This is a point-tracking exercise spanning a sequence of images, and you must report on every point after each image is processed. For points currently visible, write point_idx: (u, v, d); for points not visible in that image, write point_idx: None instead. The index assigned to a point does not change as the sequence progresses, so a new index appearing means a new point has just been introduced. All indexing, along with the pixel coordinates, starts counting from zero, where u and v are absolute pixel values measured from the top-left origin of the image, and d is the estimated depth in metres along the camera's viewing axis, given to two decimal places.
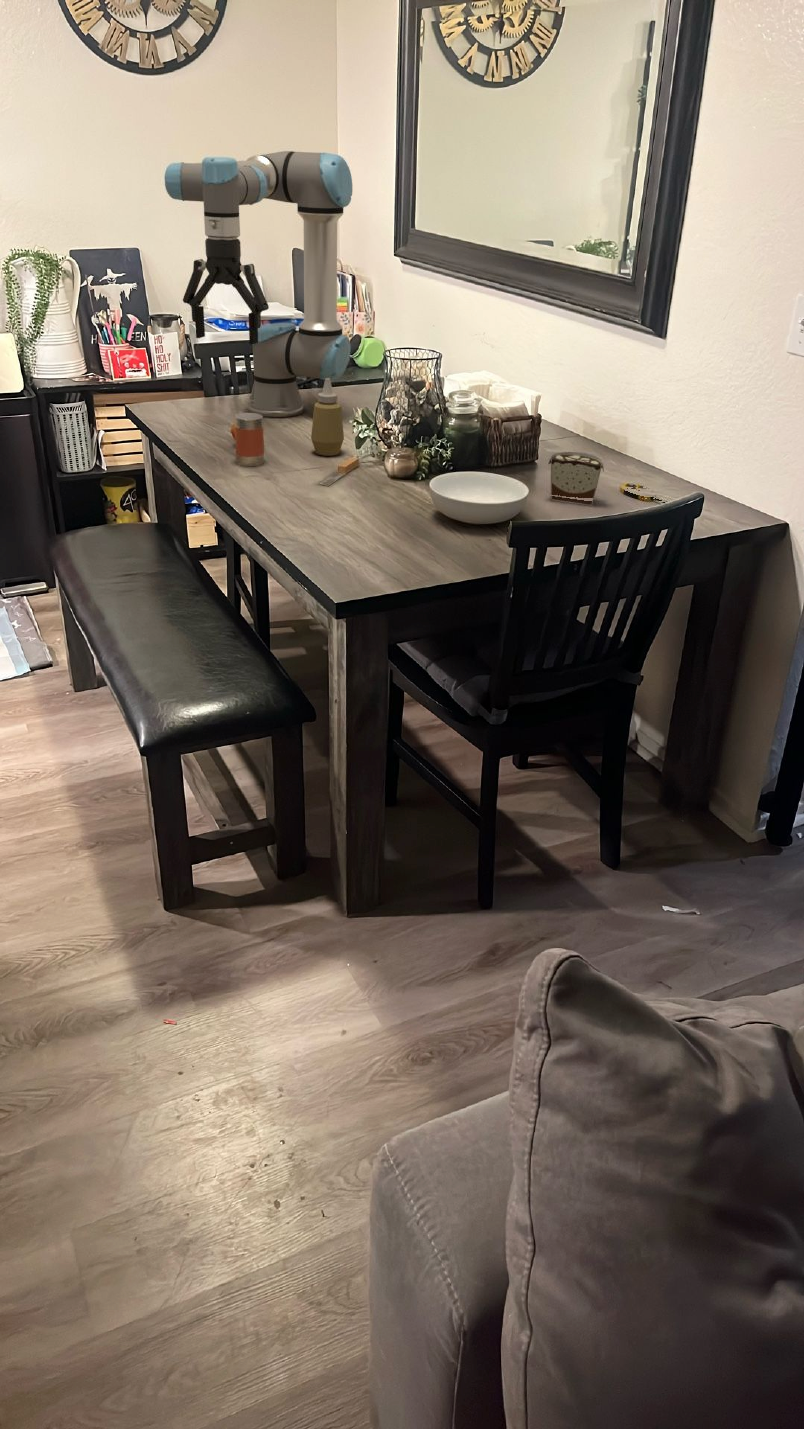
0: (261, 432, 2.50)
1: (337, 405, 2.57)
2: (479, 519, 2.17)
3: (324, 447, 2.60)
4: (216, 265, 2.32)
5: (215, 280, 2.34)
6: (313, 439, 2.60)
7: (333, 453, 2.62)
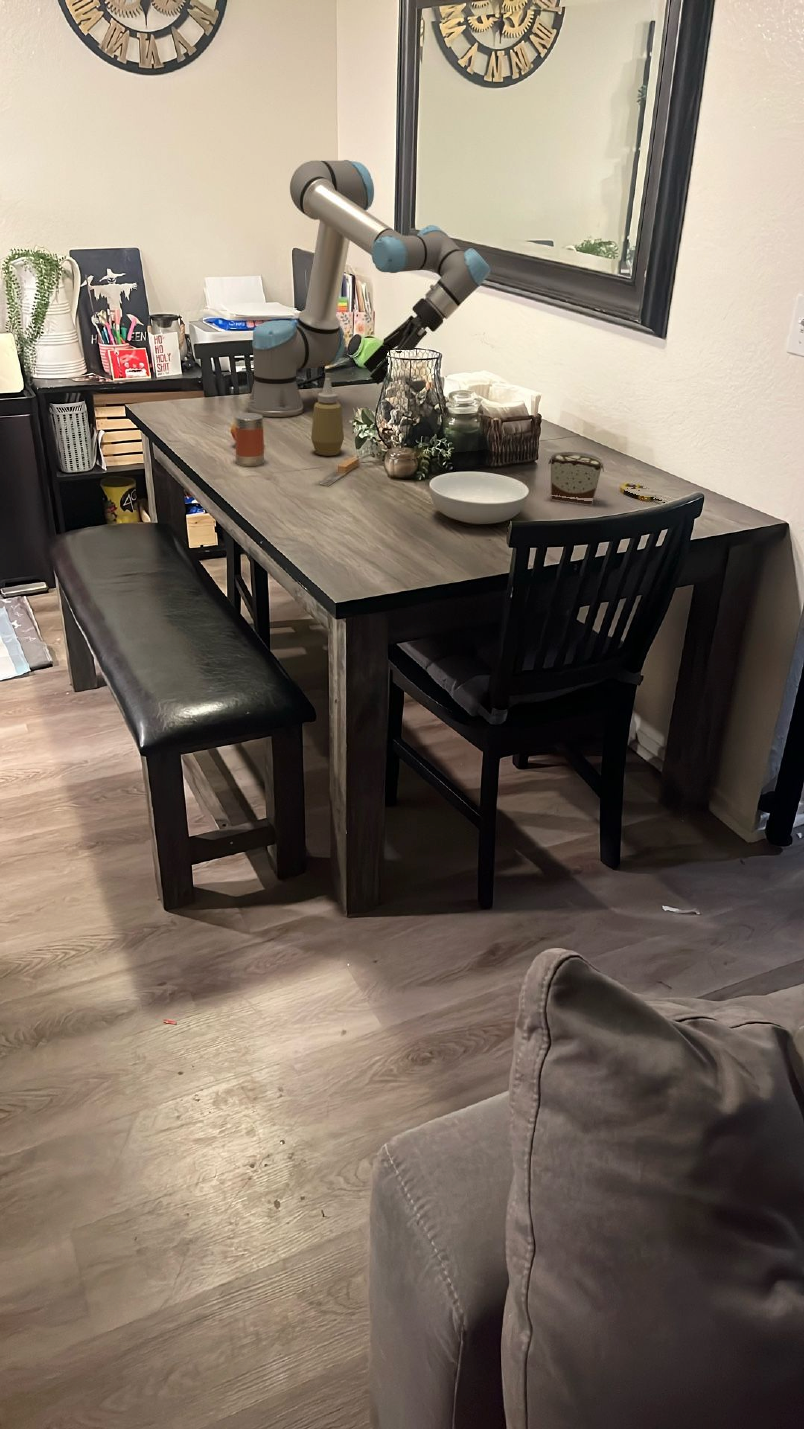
0: (261, 432, 2.50)
1: (337, 405, 2.57)
2: (479, 519, 2.17)
3: (324, 447, 2.60)
4: (413, 321, 2.53)
5: (403, 331, 2.54)
6: (313, 439, 2.60)
7: (333, 453, 2.62)
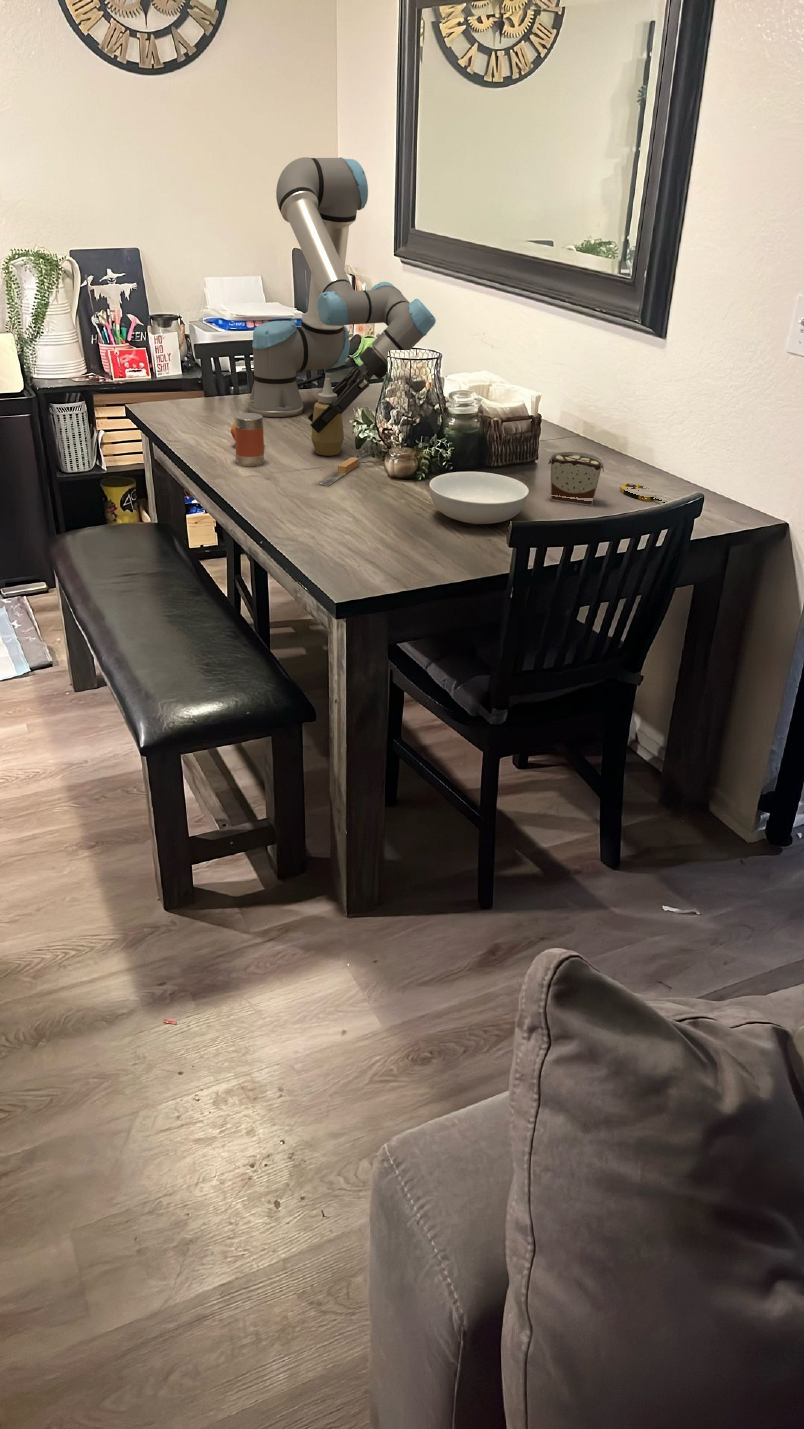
0: (261, 432, 2.50)
1: None
2: (479, 519, 2.17)
3: (324, 447, 2.60)
4: (360, 369, 2.57)
5: (351, 378, 2.58)
6: (313, 439, 2.60)
7: (333, 453, 2.62)
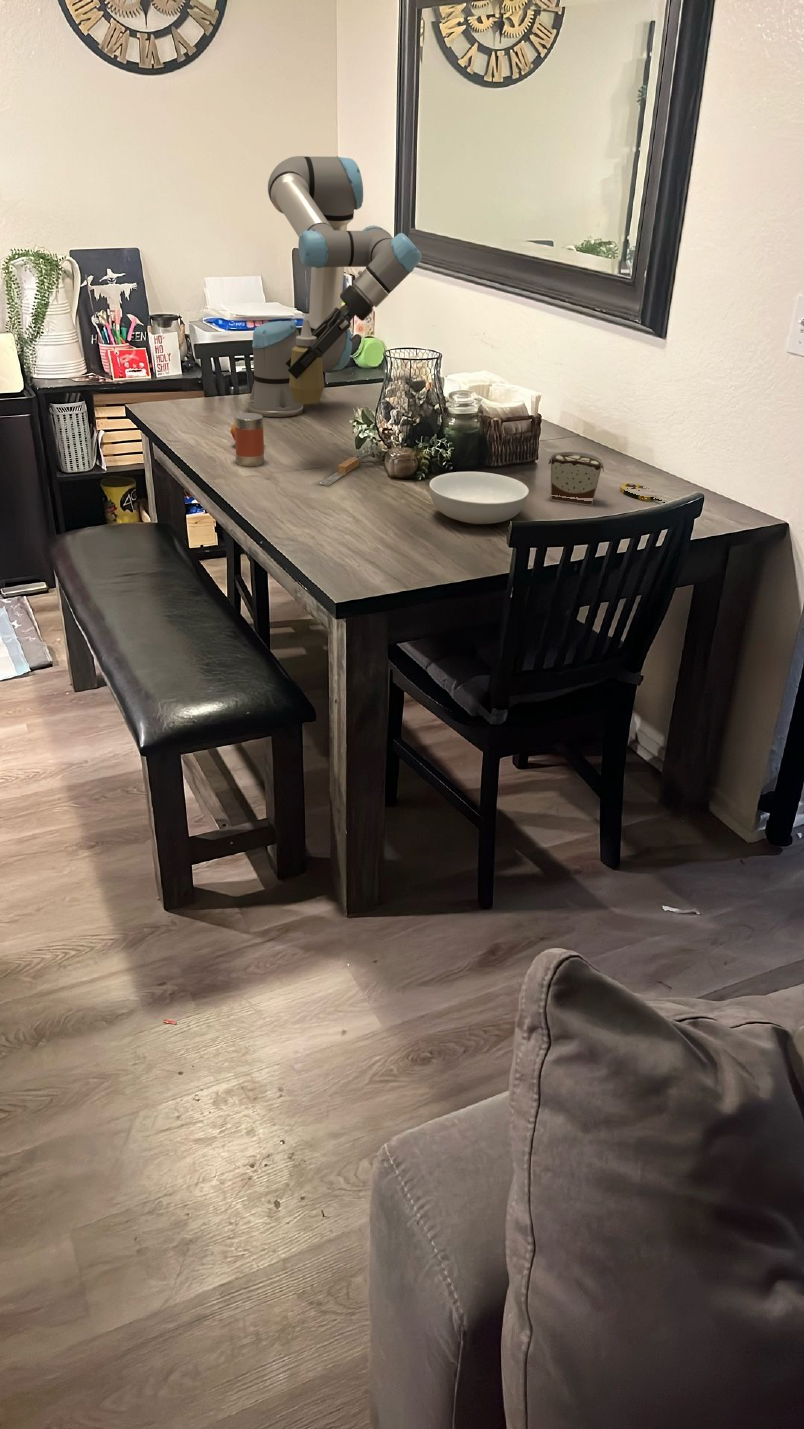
0: (261, 432, 2.50)
1: None
2: (479, 519, 2.17)
3: (303, 394, 2.43)
4: (341, 309, 2.39)
5: None
6: (291, 386, 2.43)
7: (313, 401, 2.45)
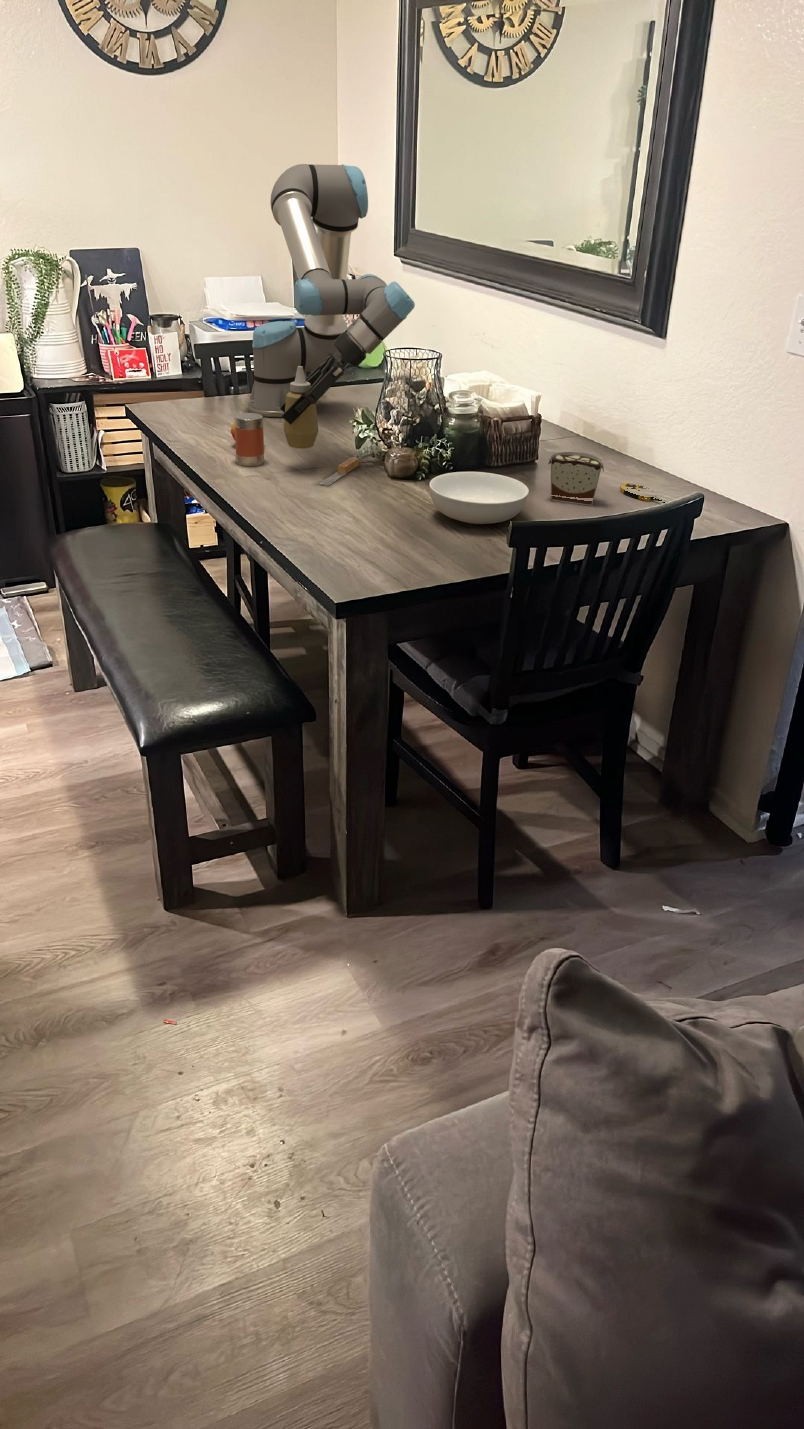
0: (261, 432, 2.50)
1: None
2: (479, 519, 2.17)
3: (297, 439, 2.45)
4: (335, 356, 2.42)
5: (325, 366, 2.43)
6: (285, 431, 2.45)
7: (307, 446, 2.47)
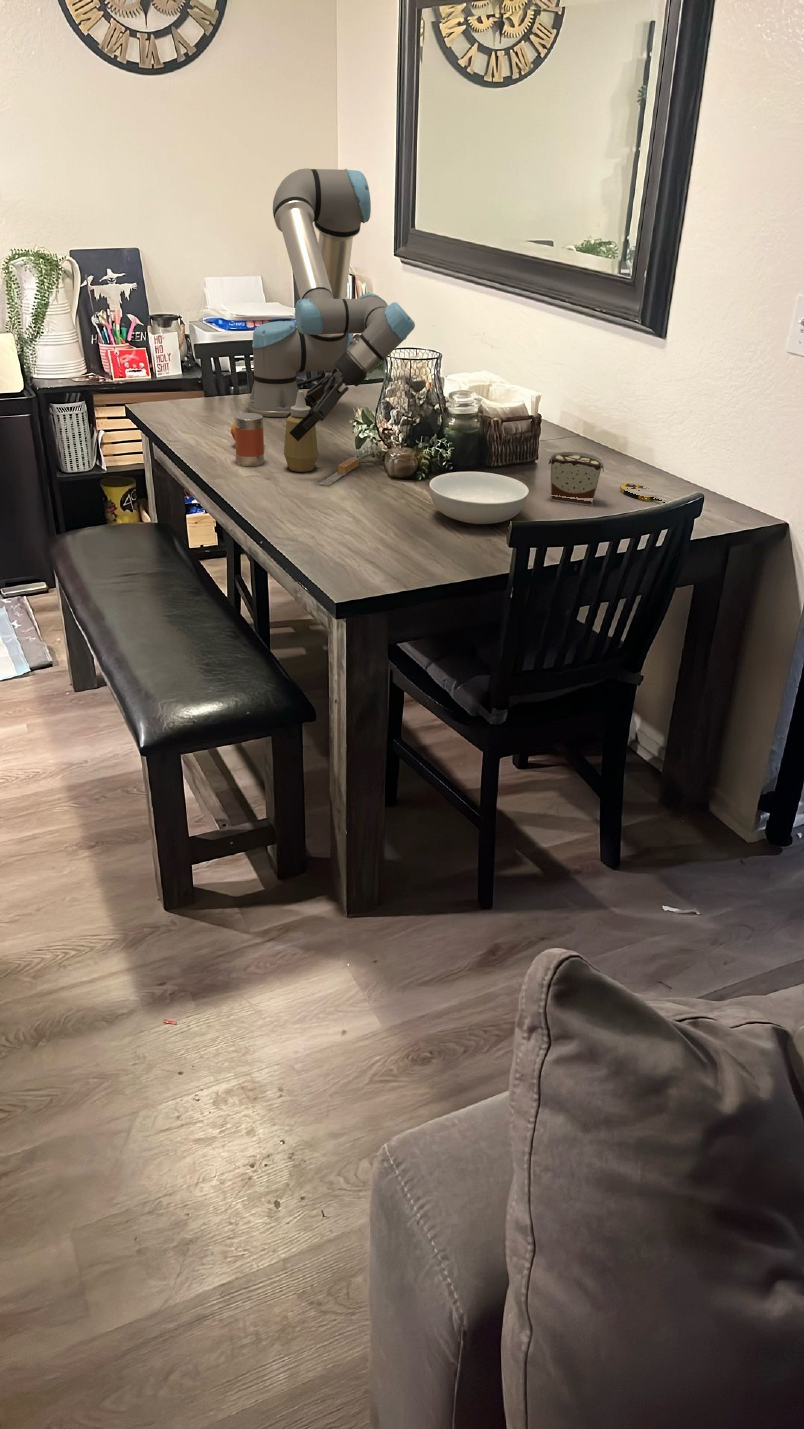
0: (261, 432, 2.50)
1: None
2: (479, 519, 2.17)
3: (297, 462, 2.48)
4: (335, 375, 2.44)
5: (326, 384, 2.45)
6: (286, 454, 2.48)
7: (307, 469, 2.49)
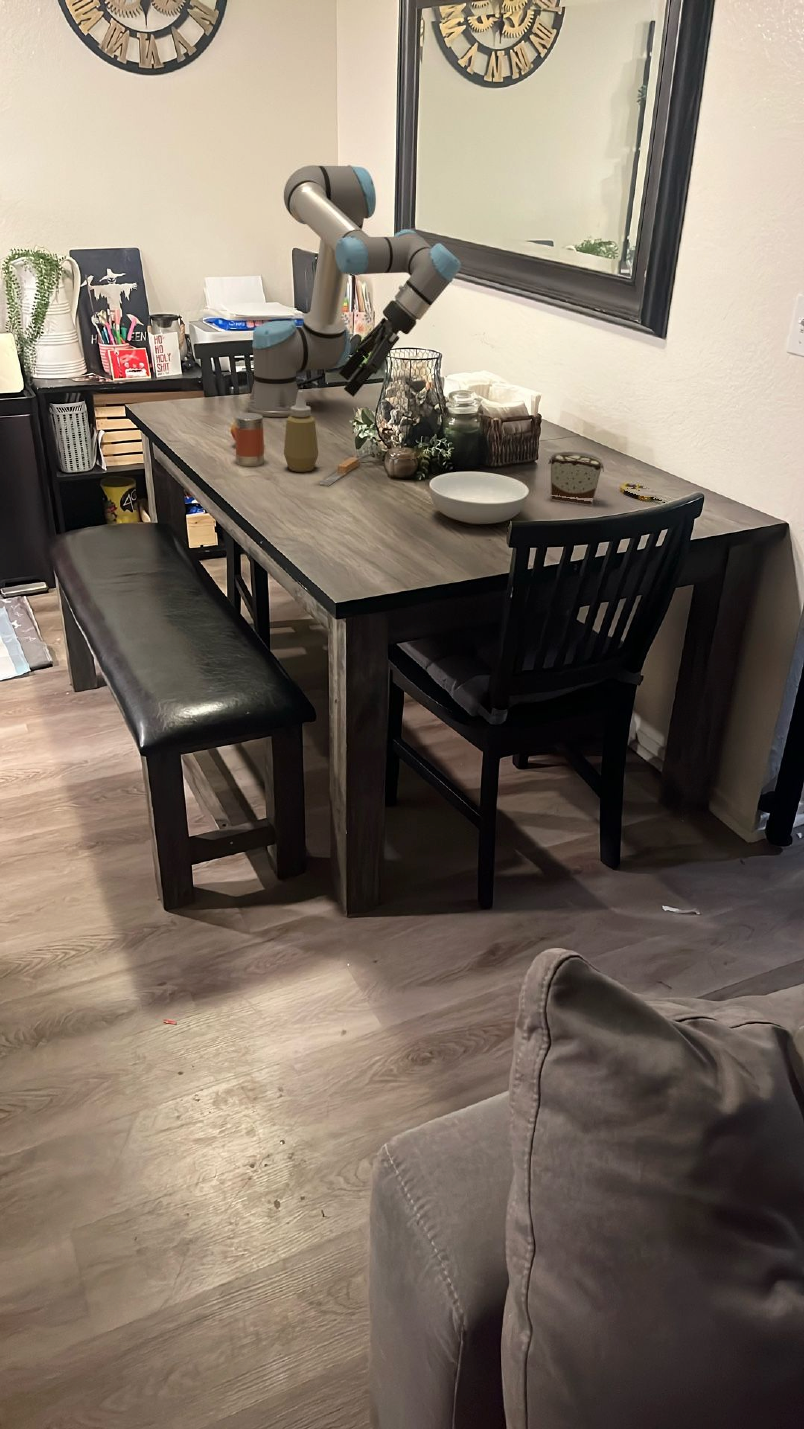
0: (261, 432, 2.50)
1: (311, 419, 2.45)
2: (479, 519, 2.17)
3: (297, 462, 2.48)
4: (385, 325, 2.41)
5: (376, 336, 2.43)
6: (286, 454, 2.48)
7: (307, 469, 2.49)
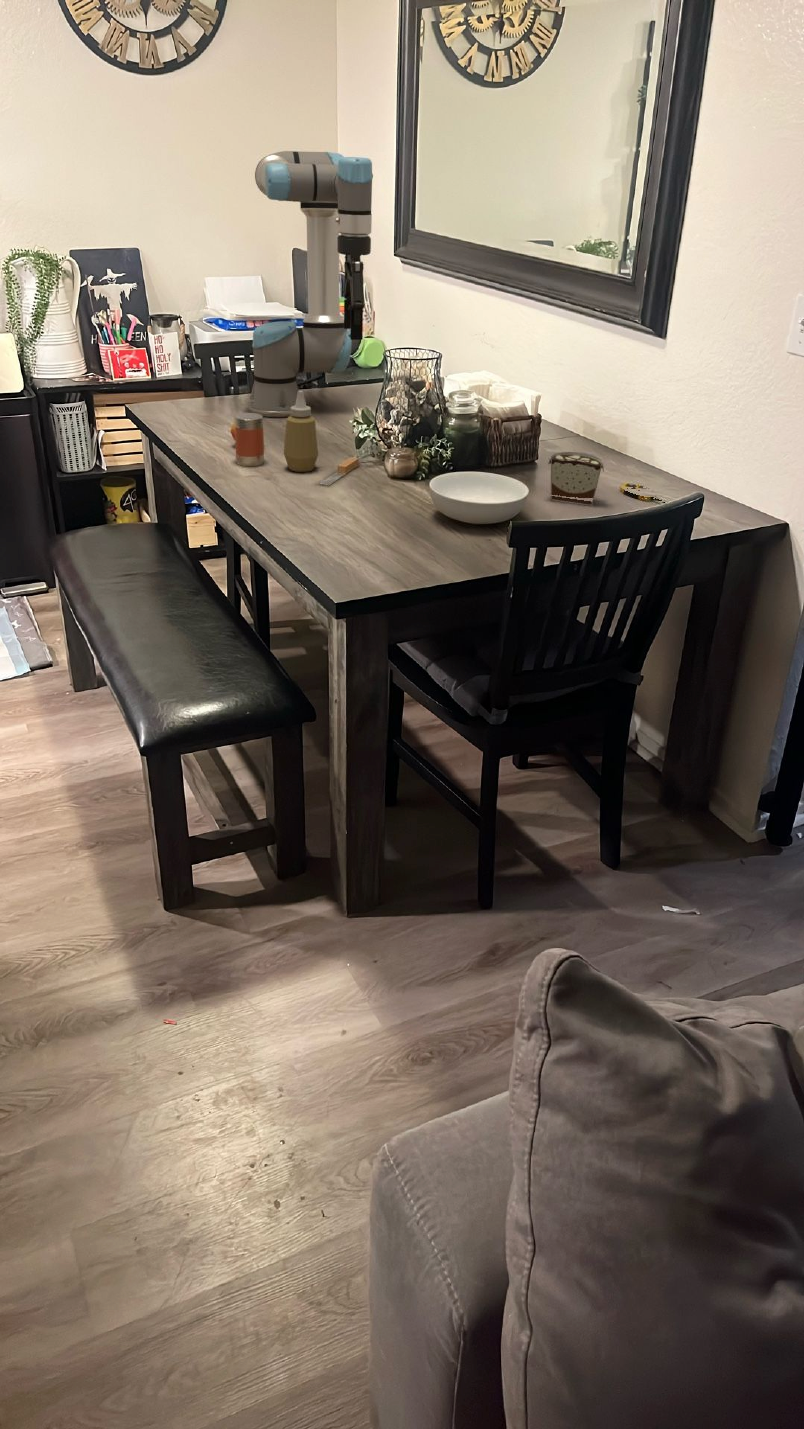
0: (261, 432, 2.50)
1: (311, 419, 2.45)
2: (479, 519, 2.17)
3: (297, 462, 2.48)
4: (348, 260, 2.42)
5: None
6: (286, 454, 2.48)
7: (307, 469, 2.49)
